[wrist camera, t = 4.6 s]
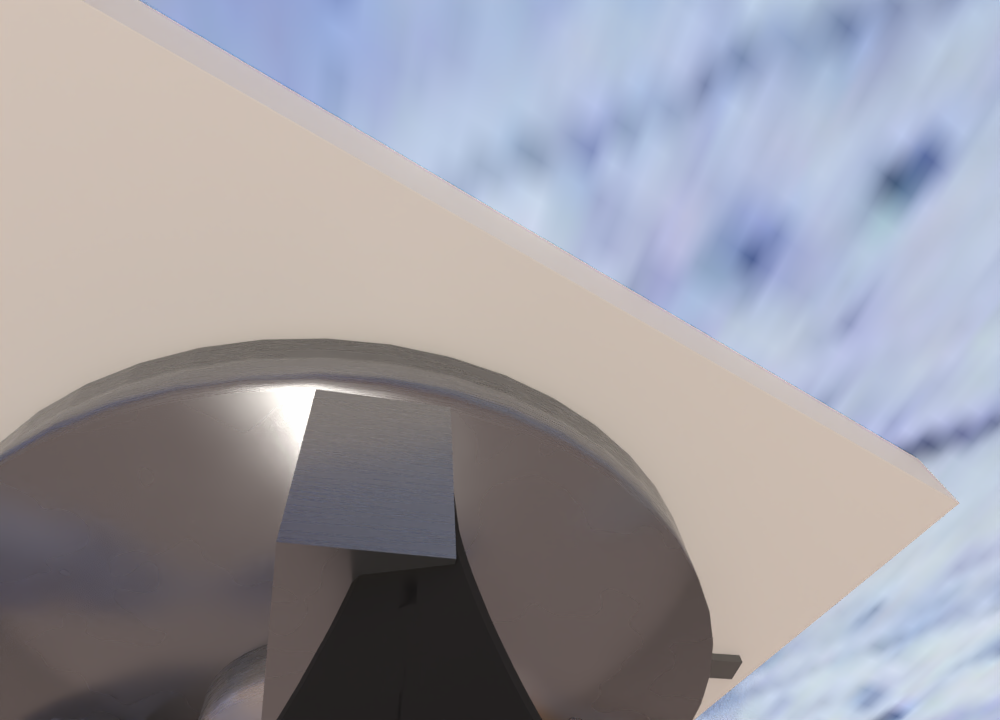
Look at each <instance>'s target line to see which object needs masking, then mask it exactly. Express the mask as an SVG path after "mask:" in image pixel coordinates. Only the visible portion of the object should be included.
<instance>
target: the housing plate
mask: <svg viewBox="0 0 1000 720" xmlns="http://www.w3.org/2000/svg"><path fill="white" fill-rule="evenodd" d="M324 338H327V339H338V340H349V341H359V342H370V343H381V344H391V345H395V346H400V347H405V348H410V349H415V350H419V351H424V352H429V353H434V354H439V355H443V356H448V357H452V358H455V359H458V360H461V361H464V362H467V363H470V364H473V365H476V366H479V367H482V368H485V369H488V370H491V371H494V372H497V373H500V374H503V375H506V376H508V377H510V378H512V379H514V380H516V381H519V382H521V383H523V384H525V385H527V386H529V387H531V388H533V389H535V390H538V391H540V392H542V393H544V394H546V395H548V396H550V397H552V398H554V399H556V400H557V401H559V402H561V403H562V404H564V405H565V406H567V407H568V408H570V409H571V410H573V411H574V412H576V413H577V414H579V415H581V416H582V417H584V418H585V419H587V420H588V421H590V422H591V423H593V424H594V425H596V426H597V427H598V428H599V429H600V430H602V431H603V432H604V433H605V434H606V435H607V436H608V437H610V438H611V439H612V440H613V441H614V442H615V443H616V444H618V445H619V446H620V447H621V448H622V449H623V450H624V451H626V452H627V453H628V454H629V455H630V456H631V457H632V459H633V460H634V461H635V462H636V463H637V465H638V466H639V467H640V468H641V469H642V471H643V472H644V473H645V474H646V476H647V477H648V478H649V479H650V480H651V482H652V483H653V484H654V485H655V487H656V488H657V490H658V492H659V494H660V495H661V497H662V499H663V501H664V502H665V504H666V506H667V508H668V509H669V511H670V513H671V515H672V516H673V518H674V521H675V523H676V526H677V528H678V530H679V533H680V535H681V538H682V540H683V542H684V545H685V547H686V550H687V552H688V554H689V557H690V559H691V562H692V564H693V566H694V569H695V571H696V574H697V576H698V578H699V581H700V584H701V587H702V590H703V593H704V596H705V599H706V602H707V605H708V608H709V611H710V619H711V628H712V637H713V651H712V661H711V671H710V677H709V680H708V683H707V686H706V690H705V693H704V696H703V700H702V703H701V705H700V707H699V709H698V711H697V713H696V715H695V717H694V719H696V718H697V717H698V716H699V715H701V714H702V713H703V712H704V711H705V710H707V709H708V708H709V707H710V706H712V705H713V704H714V703H715V702H716V701H718V700H719V699H720V698H721V697H723V696H724V695H725V694H726V693H727V692H729V691H730V690H731V689H732V688H734V687H735V686H736V685H737V684H738V683H740V682H741V681H742V680H743V679H745V678H746V677H747V676H748V675H750V674H751V673H752V672H753V671H754V670H756V669H757V668H758V667H759V666H761V665H762V664H763V663H764V662H765V661H767V660H768V659H769V658H770V657H772V656H773V655H774V654H775V653H776V652H778V651H779V650H780V649H781V648H783V647H784V646H785V645H786V644H787V643H789V642H790V641H791V640H792V639H794V638H795V637H796V636H797V635H799V634H800V633H801V632H802V631H803V630H805V629H806V628H807V627H808V626H810V625H811V624H812V623H813V622H814V621H816V620H817V619H818V618H819V617H821V616H822V615H823V614H824V613H825V612H827V611H828V610H829V609H830V608H832V607H833V606H834V605H835V604H836V603H838V602H839V601H840V600H841V599H843V598H844V597H845V596H846V595H848V594H849V593H850V592H851V591H852V590H854V589H855V588H856V587H857V586H859V585H860V584H861V583H862V582H863V581H865V580H866V579H867V578H868V577H870V576H871V575H872V574H873V573H874V572H876V571H877V570H878V569H879V568H881V567H882V566H883V565H884V564H885V563H887V562H888V561H889V560H890V559H892V558H893V557H894V556H895V555H896V554H898V553H899V552H900V551H901V550H903V549H904V548H905V547H906V546H908V545H909V544H910V543H911V542H912V541H914V540H915V539H916V538H917V537H919V536H920V535H921V534H922V533H923V532H925V531H926V530H927V529H928V528H930V527H931V526H932V525H933V524H934V523H936V522H937V521H938V520H939V519H941V518H942V517H943V516H944V515H945V514H947V513H948V512H949V511H950V510H952V509H953V508H954V507H955V506H957V505H958V504H959V502H958V501H957V500H956V499H955V498H954V497H953V496H952V494H951V493H950V492H949V491H948V490H947V489H946V488H945V487H944V486H943V485H942V484H941V483H940V482H939V481H938V480H937V478H936V477H935V476H934V475H933V474H932V473H931V472H930V471H929V470H928V469H927V468H926V467H925V466H924V465H923V463H922V462H921V461H920V460H919V459H917V458H916V457H914V456H912V455H911V454H909V453H907V452H905V451H904V450H902V449H900V448H899V447H897V446H895V445H894V444H892V443H890V442H888V441H887V440H885V439H883V438H882V437H880V436H878V435H877V434H875V433H873V432H871V431H870V430H868V429H866V428H865V427H863V426H861V425H860V424H858V423H856V422H854V421H853V420H851V419H849V418H848V417H846V416H844V415H843V414H841V413H839V412H837V411H836V410H834V409H832V408H831V407H829V406H827V405H826V404H824V403H822V402H821V401H819V400H817V399H815V398H814V397H812V396H810V395H809V394H807V393H805V392H804V391H802V390H800V389H798V388H797V387H795V386H793V385H792V384H790V383H788V382H787V381H785V380H783V379H781V378H780V377H778V376H776V375H775V374H773V373H771V372H770V371H768V370H766V369H764V368H763V367H761V366H759V365H758V364H756V363H754V362H753V361H751V360H749V359H747V358H746V357H744V356H742V355H741V354H739V353H737V352H736V351H734V350H732V349H730V348H729V347H727V346H725V345H724V344H722V343H720V342H719V341H717V340H715V339H713V338H712V337H710V336H708V335H707V334H705V333H703V332H702V331H700V330H698V329H696V328H695V327H693V326H691V325H690V324H688V323H686V322H685V321H683V320H681V319H679V318H678V317H676V316H674V315H673V314H671V313H669V312H668V311H666V310H664V309H663V308H661V307H659V306H657V305H656V304H654V303H652V302H651V301H649V300H647V299H646V298H644V297H642V296H640V295H639V294H637V293H635V292H634V291H632V290H630V289H629V288H627V287H625V286H623V285H622V284H620V283H618V282H617V281H615V280H613V279H612V278H610V277H608V276H606V275H605V274H603V273H601V272H600V271H598V270H596V269H595V268H593V267H591V266H589V265H588V264H586V263H584V262H583V261H581V260H579V259H578V258H576V257H574V256H572V255H571V254H569V253H567V252H566V251H564V250H562V249H561V248H559V247H557V246H555V245H554V244H552V243H550V242H549V241H547V240H545V239H544V238H542V237H540V236H538V235H537V234H535V233H533V232H532V231H530V230H528V229H527V228H525V227H523V226H521V225H520V224H518V223H516V222H515V221H513V220H511V219H510V218H508V217H506V216H505V215H503V214H501V213H499V212H498V211H496V210H494V209H493V208H491V207H489V206H488V205H486V204H484V203H482V202H481V201H479V200H477V199H476V198H474V197H472V196H471V195H469V194H467V193H465V192H464V191H462V190H460V189H459V188H457V187H455V186H454V185H452V184H450V183H448V182H447V181H445V180H443V179H442V178H440V177H438V176H437V175H435V174H433V173H431V172H430V171H428V170H426V169H425V168H423V167H421V166H420V165H418V164H416V163H414V162H413V161H411V160H409V159H408V158H406V157H404V156H403V155H401V154H399V153H397V152H396V151H394V150H392V149H391V148H389V147H387V146H386V145H384V144H382V143H380V142H379V141H377V140H375V139H374V138H372V137H370V136H369V135H367V134H365V133H363V132H362V131H360V130H358V129H357V128H355V127H353V126H352V125H350V124H348V123H346V122H345V121H343V120H341V119H340V118H338V117H336V116H335V115H333V114H331V113H330V112H328V111H326V110H324V109H323V108H321V107H319V106H318V105H316V104H314V103H313V102H311V101H309V100H307V99H306V98H304V97H302V96H301V95H299V94H297V93H296V92H294V91H292V90H290V89H289V88H287V87H285V86H284V85H282V84H280V83H279V82H277V81H275V80H273V79H272V78H270V77H268V76H267V75H265V74H263V73H262V72H260V71H258V70H256V69H255V68H253V67H251V66H250V65H248V64H246V63H245V62H243V61H241V60H239V59H238V58H236V57H234V56H233V55H231V54H229V53H228V52H226V51H224V50H222V49H221V48H219V47H217V46H216V45H214V44H212V43H211V42H209V41H207V40H205V39H204V38H202V37H200V36H199V35H197V34H195V33H194V32H192V31H190V30H188V29H187V28H185V27H183V26H182V25H180V24H178V23H177V22H175V21H173V20H172V19H170V18H168V17H166V16H165V15H163V14H161V13H160V12H158V11H156V10H155V9H153V8H151V7H149V6H148V5H146V4H144V3H143V2H141V1H139V0H0V442H1V441H3V440H4V439H5V438H6V437H8V436H9V435H10V434H11V433H13V432H14V431H15V430H16V429H17V428H19V427H20V426H21V425H22V424H24V423H25V422H26V421H27V420H29V419H30V418H31V417H32V416H34V415H35V414H36V413H37V412H39V411H40V410H42V409H44V408H45V407H47V406H49V405H51V404H52V403H54V402H56V401H58V400H59V399H61V398H63V397H65V396H66V395H68V394H70V393H72V392H73V391H75V390H77V389H79V388H80V387H82V386H84V385H86V384H88V383H91V382H93V381H96V380H98V379H101V378H103V377H106V376H108V375H111V374H113V373H116V372H118V371H121V370H123V369H126V368H128V367H131V366H133V365H136V364H138V363H142V362H146V361H150V360H154V359H157V358H161V357H165V356H169V355H173V354H177V353H181V352H185V351H189V350H193V349H197V348H202V347H210V346H217V345H225V344H232V343H240V342H248V341H255V340H266V339H324ZM694 719H693V720H694Z"/></svg>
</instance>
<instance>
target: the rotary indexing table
mask: <svg viewBox="0 0 1000 720" xmlns="http://www.w3.org/2000/svg"><path fill="white" fill-rule="evenodd" d="M454 496H455V504H456V511H457V518H458V525H459V531H460V535H461V539H462V542H463V546H464V549H465V552H466V555H467V559H468V562H469V564H470V567H471V570H472V573H473V576H474V578H475V581H476V583H477V586H478V588H479V591H480V593H481V596H482V598H483V601H484V603H485V605H486V608H487V610H488V613H489V615H490V617H491V620H492V622H493V624H494V626H495V629H496V631H497V633H498V635H499V637H500V639H501V642H502V644H503V646H504V648H505V650H506V652H507V654H508V656H509V658H510V660H511V662H512V664H513V666H514V668H515V670H516V672H517V674H518V676H519V678H520V680H521V682H522V684H523V686H524V688H525V689H526V691H527V693H528V695H529V697H530V699H531V701H532V702H533V704H534V706H535V708H536V710H537V711H538V713H539V715H540V717H541V718H542V720H693V719H694V717H695V715H696V713H697V711H698V709H699V707H700V705H701V703H702V700H703V696H704V693H705V690H706V686H707V683H708V680H709V677H710V671H711V661H712V651H713V637H712V628H711V619H710V611H709V608H708V605H707V602H706V599H705V596H704V593H703V590H702V587H701V584H700V581H699V578H698V576H697V574H696V571H695V569H694V566H693V564H692V562H691V559H690V557H689V554H688V552H687V550H686V547H685V545H684V542H683V540H682V538H681V535H680V533H679V530H678V528H677V526H676V523H675V521H674V518H673V516H672V515H671V513H670V511H669V509H668V508H667V506H666V504H665V502H664V501H663V499H662V497H661V495H660V494H659V492H658V490H657V488H656V487H655V485H654V484H653V483H652V482H651V480H650V479H649V478H648V477H647V476H646V474H645V473H644V472H643V471H642V469H641V468H640V467H639V466H638V465H637V463H636V462H635V461H634V460H633V459H632V457H631V456H630V455H629V454H628V453H627V452H626V451H624V450H623V449H622V448H621V447H620V446H619V445H618V444H616V443H615V442H614V441H613V440H612V439H611V438H610V437H608V436H607V435H606V434H605V433H604V432H603V431H602V430H600V429H599V428H598V427H597V426H596V425H594V424H593V423H591V422H590V421H588V420H587V419H585V418H584V417H582V416H581V415H579V414H577V413H576V412H574V411H573V410H571V409H570V408H568V407H567V406H565V405H564V404H562V403H561V402H559V401H557V400H556V399H554V398H552V397H550V396H548V395H546V394H544V393H542V392H540V391H538V390H535V389H533V388H531V387H529V386H527V385H525V384H523V383H521V382H519V381H516V380H514V379H512V378H510V377H508V376H506V375H503V374H500V373H497V372H494V371H491V370H488V369H485V368H482V367H479V366H476V365H473V364H470V363H467V362H464V361H461V360H458V359H455V358H452V357H448V356H443V355H439V354H434V353H429V352H424V351H419V350H415V349H410V348H405V347H400V346H395V345H391V344H381V343H370V342H359V341H349V340H338V339H327V338H324V339H266V340H255V341H248V342H240V343H232V344H225V345H217V346H210V347H202V348H197V349H193V350H189V351H185V352H181V353H177V354H173V355H169V356H165V357H161V358H157V359H154V360H150V361H146V362H142V363H138V364H136V365H133V366H131V367H128V368H126V369H123V370H121V371H118V372H116V373H113V374H111V375H108V376H106V377H103V378H101V379H98V380H96V381H93V382H91V383H88V384H86V385H84V386H82V387H80V388H79V389H77V390H75V391H73V392H72V393H70V394H68V395H66V396H65V397H63V398H61V399H59V400H58V401H56V402H54V403H52V404H51V405H49V406H47V407H45V408H44V409H42V410H40V411H39V412H37V413H36V414H35V415H34V416H32V417H31V418H30V419H29V420H27V421H26V422H25V423H24V424H22V425H21V426H20V427H19V428H17V429H16V430H15V431H14V432H13V433H11V434H10V435H9V436H8V437H6V438H5V439H4V440H3V441H1V442H0V720H277V718H278V716H279V715H280V713H281V712H282V710H283V708H284V707H285V705H286V703H287V702H288V700H289V698H290V697H291V695H292V694H293V692H294V690H295V689H296V687H297V685H298V683H299V682H300V680H301V678H302V676H303V674H304V673H305V671H306V669H307V667H308V666H309V664H310V662H311V660H312V658H313V657H314V655H315V653H316V651H317V649H318V648H319V646H320V644H321V642H322V641H323V639H324V637H325V635H326V633H327V632H328V630H329V628H330V626H331V624H332V622H333V620H334V618H335V616H336V614H337V612H338V610H339V608H340V606H341V604H342V602H343V600H344V598H345V596H346V594H347V592H348V590H349V587H350V585H351V583H352V582H353V581H354V580H355V579H356V578H357V577H358V576H359V575H363V574H372V573H381V572H389V571H398V570H407V569H416V568H425V567H434V566H443V565H452V564H455V562H456V538H455V512H454Z"/></svg>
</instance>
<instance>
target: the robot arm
mask: <svg viewBox="0 0 1000 720" xmlns="http://www.w3.org/2000/svg"><path fill="white" fill-rule="evenodd" d="M454 512H455V538H456V562H455V564H452V565H443V566H434V567H425V568H416V569H407V570H398V571H389V572H381V573H372V574H363V575H359V576H358V577H357V578H356V579H355V580H354V581H353V582H352V583H351V585H350V587H349V590H348V592H347V594H346V596H345V598H344V600H343V602H342V604H341V606H340V608H339V610H338V612H337V614H336V616H335V618H334V620H333V622H332V624H331V626H330V628H329V630H328V632H327V633H326V635H325V637H324V639H323V641H322V642H321V644H320V646H319V648H318V649H317V651H316V653H315V655H314V657H313V658H312V660H311V662H310V664H309V666H308V667H307V669H306V671H305V673H304V674H303V676H302V678H301V680H300V682H299V683H298V685H297V687H296V689H295V690H294V692H293V694H292V695H291V697H290V698H289V700H288V702H287V703H286V705H285V707H284V708H283V710H282V712H281V713H280V715H279V716H278V718H277V720H542V718H541V717H540V715H539V713H538V711H537V710H536V708H535V706H534V704H533V702H532V701H531V699H530V697H529V695H528V693H527V691H526V689H525V688H524V686H523V684H522V682H521V680H520V678H519V676H518V674H517V672H516V670H515V668H514V666H513V664H512V662H511V660H510V658H509V656H508V654H507V652H506V650H505V648H504V646H503V644H502V642H501V639H500V637H499V635H498V633H497V631H496V629H495V626H494V624H493V622H492V620H491V617H490V615H489V613H488V610H487V608H486V605H485V603H484V601H483V598H482V596H481V593H480V591H479V588H478V586H477V583H476V581H475V578H474V576H473V573H472V570H471V567H470V564H469V562H468V559H467V555H466V552H465V549H464V546H463V542H462V539H461V535H460V531H459V525H458V518H457V511H456V504H455V496H454Z"/></svg>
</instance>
